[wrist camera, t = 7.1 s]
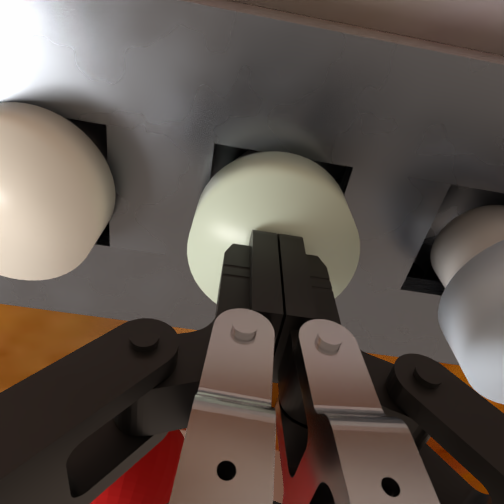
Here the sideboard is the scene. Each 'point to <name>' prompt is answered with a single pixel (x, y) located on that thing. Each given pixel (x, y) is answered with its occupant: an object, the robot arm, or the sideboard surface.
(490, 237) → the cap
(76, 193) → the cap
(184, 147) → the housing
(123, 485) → the red heart
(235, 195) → the cap mid
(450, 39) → the sideboard surface
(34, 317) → the sideboard surface
